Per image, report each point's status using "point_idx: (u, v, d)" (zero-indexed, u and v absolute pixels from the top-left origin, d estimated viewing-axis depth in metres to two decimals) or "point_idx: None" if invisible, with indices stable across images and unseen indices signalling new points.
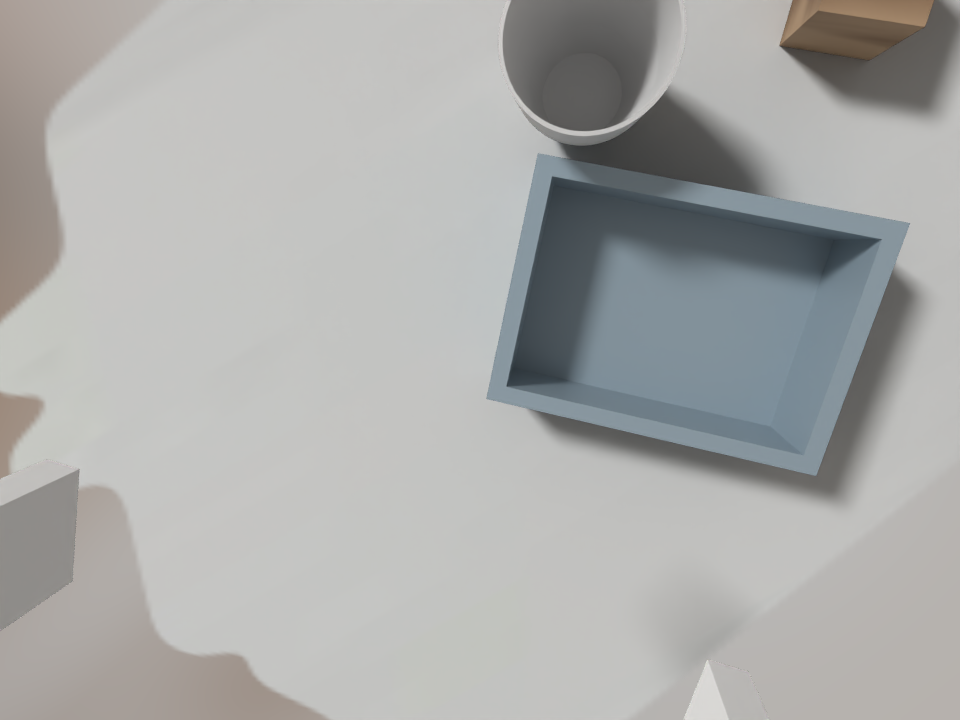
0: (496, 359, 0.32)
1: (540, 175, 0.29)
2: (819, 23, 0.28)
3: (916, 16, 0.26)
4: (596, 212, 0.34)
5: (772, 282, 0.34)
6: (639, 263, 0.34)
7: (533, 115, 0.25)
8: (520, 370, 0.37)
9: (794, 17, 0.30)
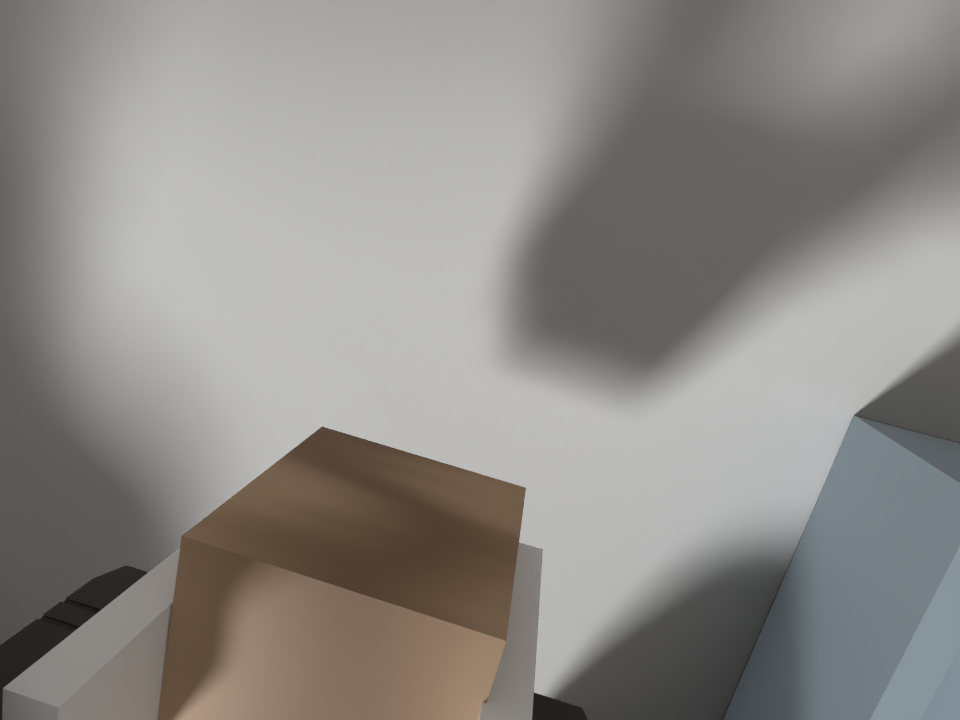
0: None
1: None
2: None
3: (471, 663, 0.08)
4: None
5: None
6: None
7: None
8: None
9: None
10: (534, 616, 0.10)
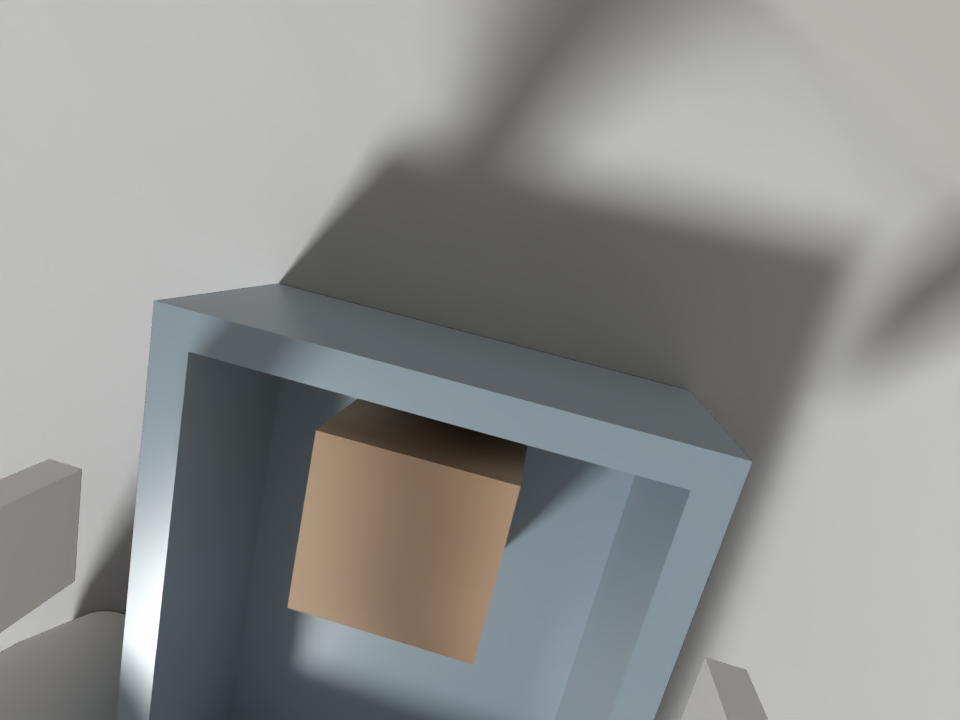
0: None
1: None
2: None
3: (499, 502, 0.13)
4: (262, 679, 0.21)
5: None
6: (337, 626, 0.20)
7: None
8: None
9: None
10: None
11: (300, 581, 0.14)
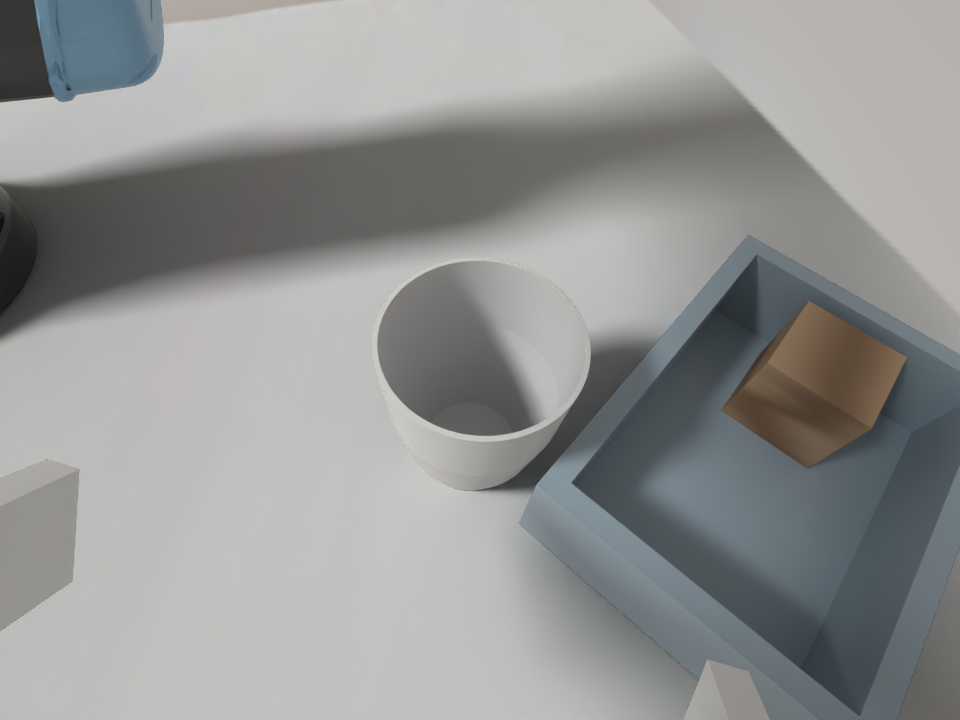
0: (807, 706, 0.18)
1: (563, 495, 0.22)
2: None
3: (895, 359, 0.26)
4: (603, 487, 0.27)
5: (743, 367, 0.31)
6: (680, 471, 0.28)
7: (526, 431, 0.18)
8: None
9: (803, 446, 0.27)
10: None
11: (779, 354, 0.26)
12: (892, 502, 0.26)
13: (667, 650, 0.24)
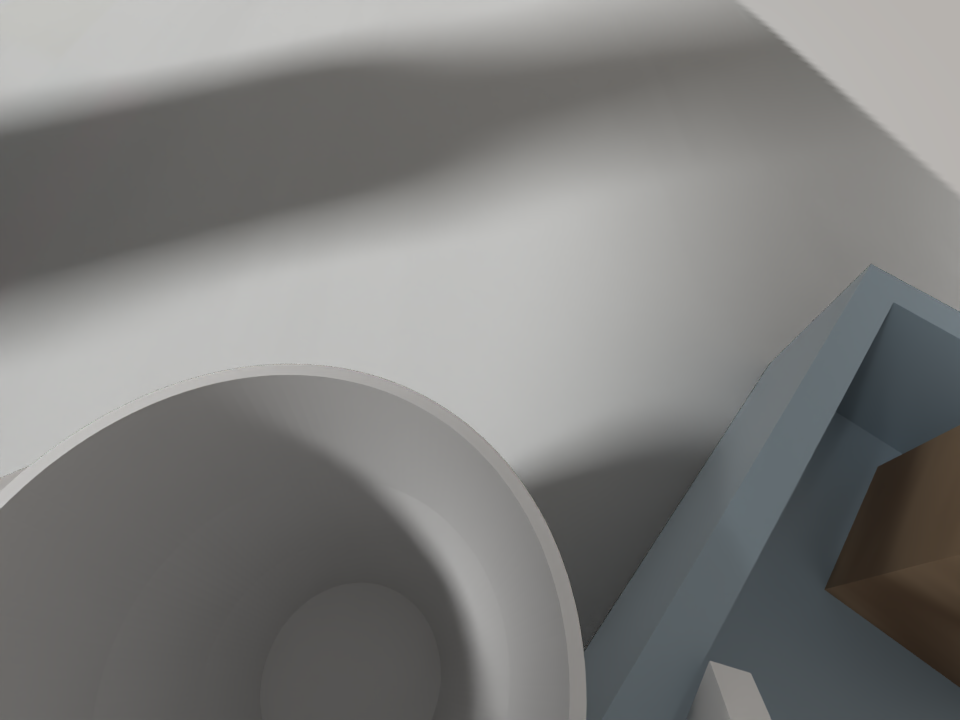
0: None
1: None
2: None
3: None
4: None
5: (853, 495, 0.18)
6: None
7: None
8: None
9: None
10: None
11: None
12: None
13: None
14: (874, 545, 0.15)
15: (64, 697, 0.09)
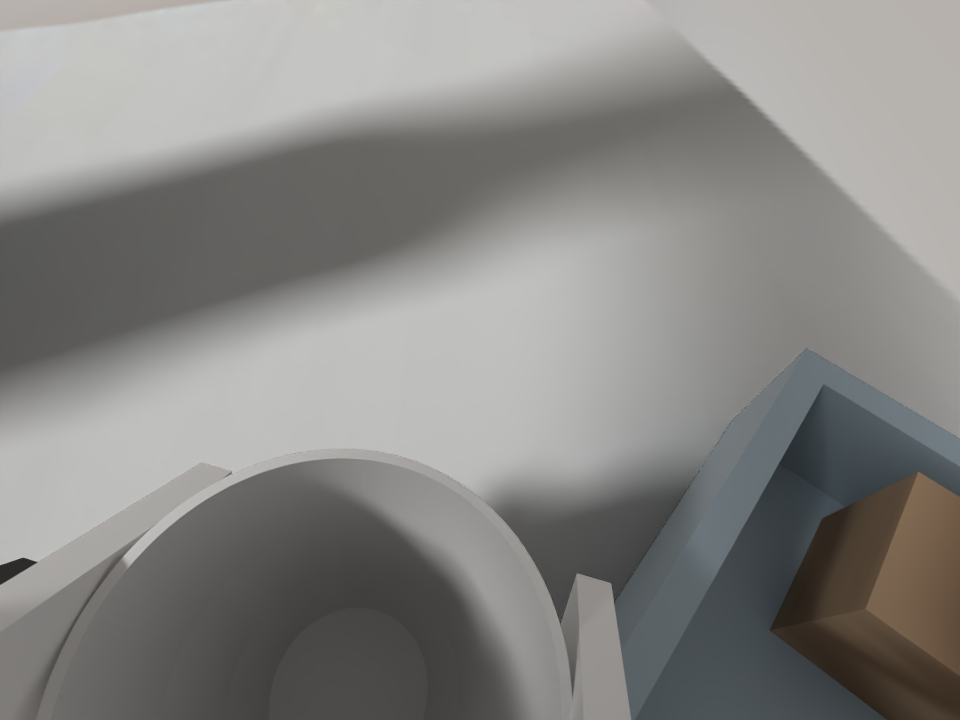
0: None
1: None
2: None
3: None
4: None
5: (798, 545, 0.20)
6: None
7: None
8: None
9: None
10: (618, 662, 0.09)
11: (884, 588, 0.15)
12: None
13: None
14: (809, 593, 0.18)
15: (145, 709, 0.11)
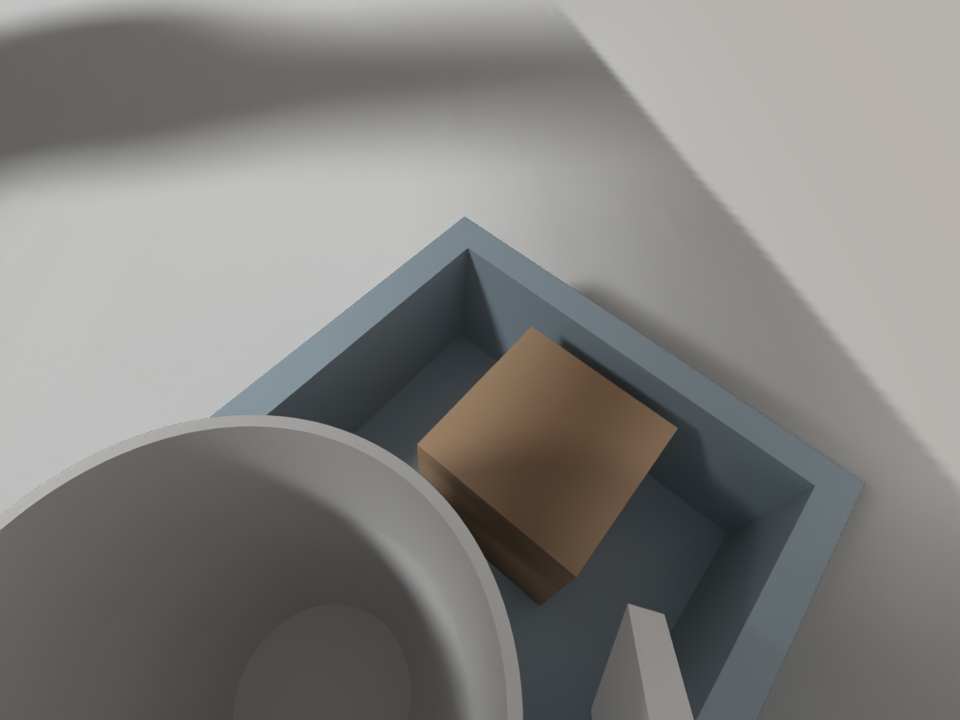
0: None
1: None
2: None
3: (656, 433, 0.15)
4: None
5: None
6: None
7: None
8: None
9: (520, 575, 0.16)
10: (686, 707, 0.09)
11: (446, 426, 0.14)
12: None
13: None
14: None
15: None
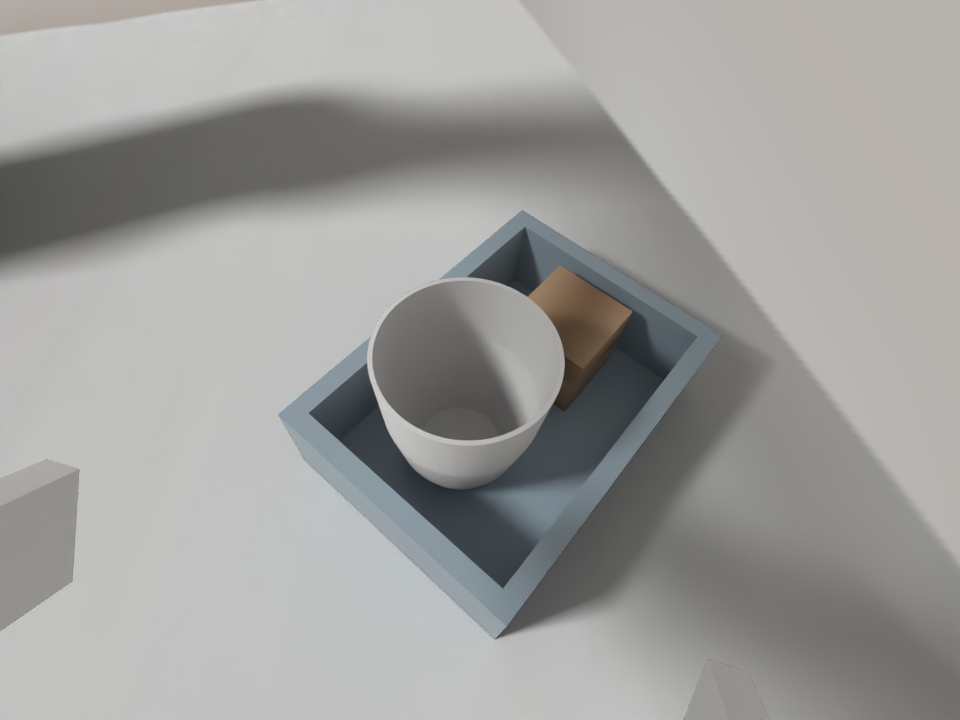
0: (461, 581, 0.23)
1: (299, 422, 0.26)
2: (584, 373, 0.30)
3: (622, 313, 0.30)
4: (379, 428, 0.31)
5: None
6: None
7: (505, 436, 0.21)
8: None
9: None
10: None
11: None
12: None
13: (411, 559, 0.28)
14: None
15: (383, 394, 0.25)
